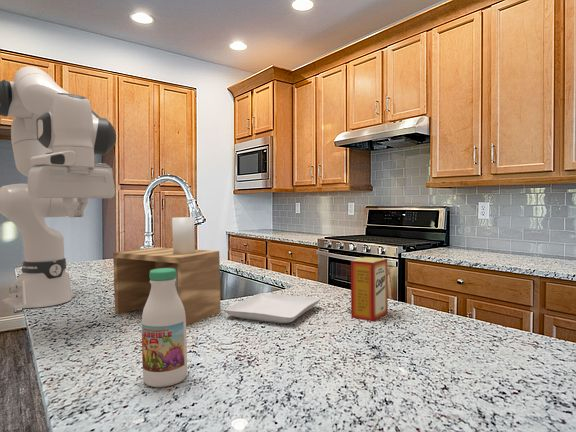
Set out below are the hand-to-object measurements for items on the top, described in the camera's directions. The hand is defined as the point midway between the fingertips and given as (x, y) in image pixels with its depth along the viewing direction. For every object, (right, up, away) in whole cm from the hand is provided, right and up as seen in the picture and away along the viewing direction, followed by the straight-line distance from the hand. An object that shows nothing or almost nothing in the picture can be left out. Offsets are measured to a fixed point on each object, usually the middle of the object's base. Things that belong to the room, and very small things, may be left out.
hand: (75, 217), depth 96 cm
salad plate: (+48, -28, +17) cm, 58 cm away
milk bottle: (+30, -30, -25) cm, 49 cm away
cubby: (+17, -28, +18) cm, 38 cm away
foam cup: (+17, -28, +18) cm, 38 cm away
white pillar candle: (+23, -10, +14) cm, 29 cm away
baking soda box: (+75, -28, +13) cm, 81 cm away
